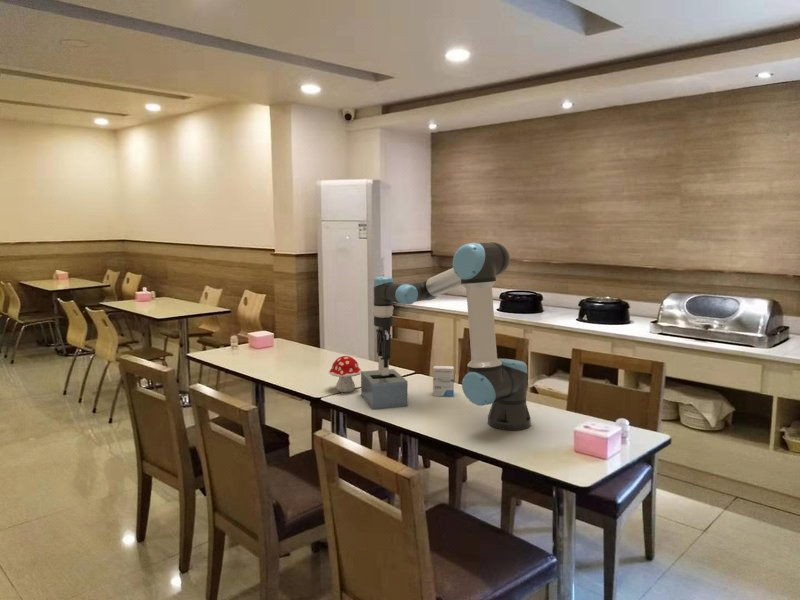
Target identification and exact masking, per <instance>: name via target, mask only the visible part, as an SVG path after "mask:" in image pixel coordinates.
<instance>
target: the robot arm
mask: <svg viewBox="0 0 800 600" xmlns="http://www.w3.org/2000/svg"><path fill="white" fill-rule="evenodd" d="M510 262H511V256H510V253H509V251H508V249H507V247H505V246H504V245H503V244H501V243H499V242H492V241H491V242H471V243H470V242H469V243H466V244H463V245H461V246H459V248H458V249H457V251H455V253H454V255H453V258H452V268H449V269H448V270H445V271H443V272H440V273H437V274H436V275H434V276H431V277H429V278H427V279H424V280H422V281H417V282H416V281H414V282H407V283H394V281H393V280H394V279H393V276H392V277H391V276H377V277H374V280H373V288H372V289H373V325H374V327H378V328H376V331H375V332H376V354H377V355H378V358H377V362H378V372H382V376H383V375H389V369H390V368H389V366H390V363H389V361H390V360H389V359H391V340H392V339H391V338H392V334H390V330H389V327H392V326H393V325H394V317H393V315H394V309H395V307H394V306H393V305H394V303H395V304H400V305H404V306H406V305H413V304H414V303H416V302H423V301H432V300H435V299H436V298H438V296H440V295H442V294H443V295H444V293H447V292H450V291H453V290H455V289H457V288H460V287H463V288H464V289H465V290H466V303H467V304H466V305H467V316H468V317H467V318H468V329H469V343H470V356H471V357H470V358H471V359H470V361H469V362H468V363H467V366H466V367H467V373H466V374H465V375H464V377H463V378H462V382H461V388H462V392H463V394H464V397H465V398H466V399H468V400H469V402H470V403H471V404H473V405H476V406H481V407H482V406H483V407H484V406H488V405H491V407H490V408H489V412H488V414H487V424H488V425H489V426H490V427H493V428H495V429H498V430H505V431H521V430H526V429H528V428H530V427H531V424H532V423H531V422H532V418H531V415H530V412H529V408H528V404H527V388H528V365H527V363H525V362H524V361H522V360H516V359H513V358H512V359H511V358H510V359H509V358H498V353H497V351H498V350H497V340H496V339H497V338H496V325H495V324H496V323H495V311H494V310H495V309H494V297H493V287H494V286H495V284H496V283H497V277H496V276H500V275H502V274H503V273H505V272H506V270H507V269H508V268H509V266H510V264H511V263H510Z"/></svg>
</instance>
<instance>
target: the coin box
mask: <svg viewBox="0 0 800 600" xmlns="http://www.w3.org/2000/svg"><path fill="white" fill-rule="evenodd" d="M360 378H361V379H360V393H361V397H362V398H363V399H364V401H365V402H366V403H367V404H368V406H369V407H370V408H371V410H380V409H383V410H384V409H395V408H404V407H408V400H409V399H408V396H409V395H408V394H409V393H408V392H409V391H408V389H409V388H408V380H407V379H406V378H404V377H403V376H402V375H401V374H400V373H399V372H397V370H395V369H394V368H392V369H390V368H389V375H383V376H382V372H378V370H364V371H362V370H361V373H360Z"/></svg>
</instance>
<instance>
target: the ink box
mask: <svg viewBox="0 0 800 600" xmlns="http://www.w3.org/2000/svg"><path fill="white" fill-rule="evenodd" d="M454 370H455V367H454V366H453V365H452V366H450V365H449V366H448V365H447V366H446V365H434V366H433V370H432V372H433V373H432V377H433V378H432V396H433V397H454V395H455V393H454V392H455V391H454V388H455V387H454V385H455V383H454V382H455V374H454V373H455V371H454Z"/></svg>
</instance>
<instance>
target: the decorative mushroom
mask: <svg viewBox="0 0 800 600" xmlns="http://www.w3.org/2000/svg"><path fill="white" fill-rule="evenodd" d="M361 371H362V368H360V367H359V364H358V362H357V360H356V359H354V358H353V357H351V356H349V355H342V356H338V357H337V358H336V359H335V360H334V362H333V363H332V366H331V369H330V370H329V371H328V373H329V375H331V377H338V381H337V382H336V384H335V389H336V390H337V392H339V393H343V392H347V393H352V392H353V391H354V389H355V388H356V384H355V382H354V380H353V377H357V376H359V375H360V376H361Z"/></svg>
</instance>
